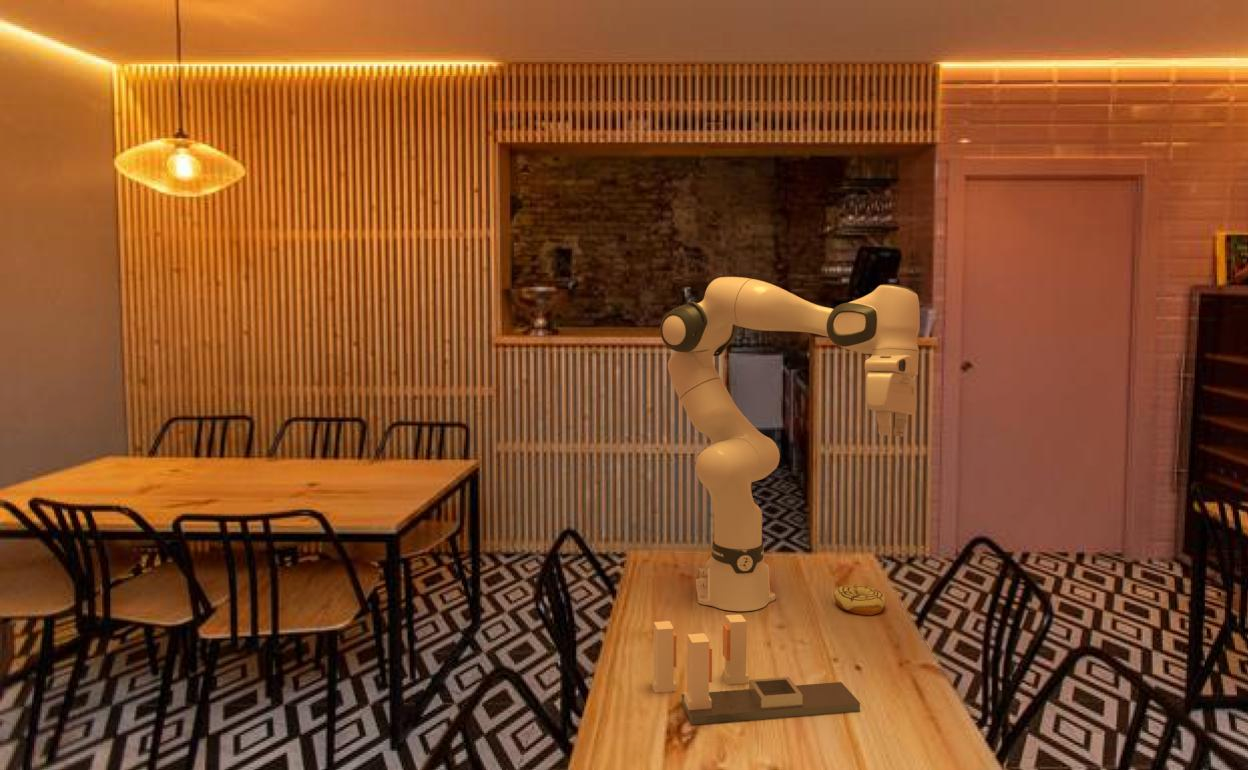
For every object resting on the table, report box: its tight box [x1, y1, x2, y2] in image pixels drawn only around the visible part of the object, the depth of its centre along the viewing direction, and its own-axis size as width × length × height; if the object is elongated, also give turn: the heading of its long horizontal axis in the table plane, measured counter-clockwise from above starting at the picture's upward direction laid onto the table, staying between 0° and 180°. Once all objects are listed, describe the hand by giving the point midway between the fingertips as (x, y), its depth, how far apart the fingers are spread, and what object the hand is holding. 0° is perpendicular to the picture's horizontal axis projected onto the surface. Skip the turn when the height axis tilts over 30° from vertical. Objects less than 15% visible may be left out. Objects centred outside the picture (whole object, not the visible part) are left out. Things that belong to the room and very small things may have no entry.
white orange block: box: [650, 620, 678, 694], centre depth 153 cm, size 4×4×12 cm
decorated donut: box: [833, 584, 886, 616], centre depth 193 cm, size 11×12×4 cm
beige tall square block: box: [721, 614, 749, 686], centre depth 156 cm, size 4×4×12 cm
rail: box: [680, 676, 861, 726], centre depth 147 cm, size 8×30×4 cm, turn 99°
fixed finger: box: [683, 632, 713, 710], centre depth 144 cm, size 4×4×12 cm
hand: (891, 435), depth 164 cm, fingers open, 8 cm apart
